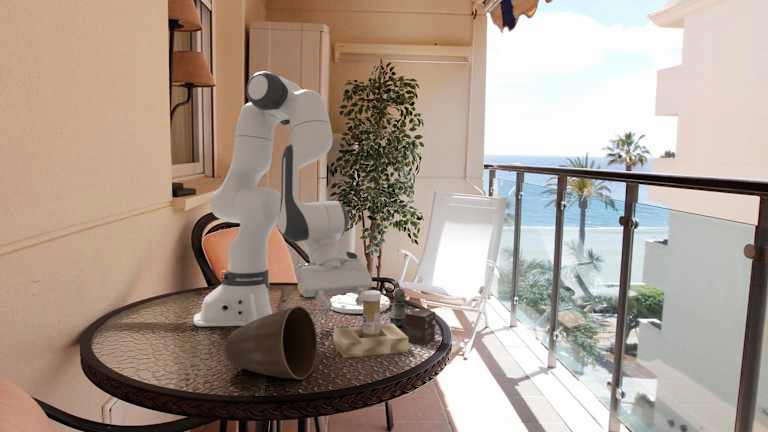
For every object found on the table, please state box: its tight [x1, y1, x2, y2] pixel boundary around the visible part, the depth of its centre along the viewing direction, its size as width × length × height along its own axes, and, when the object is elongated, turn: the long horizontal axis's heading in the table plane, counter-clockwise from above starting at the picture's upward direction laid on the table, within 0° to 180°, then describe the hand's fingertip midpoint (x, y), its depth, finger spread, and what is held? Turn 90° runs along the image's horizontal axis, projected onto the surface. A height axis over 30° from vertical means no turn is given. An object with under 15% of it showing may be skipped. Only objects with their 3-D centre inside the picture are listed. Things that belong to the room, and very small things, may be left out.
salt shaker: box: [388, 285, 406, 332], centre depth 143 cm, size 6×6×12 cm
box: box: [404, 308, 436, 345], centre depth 134 cm, size 6×6×7 cm
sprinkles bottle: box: [362, 289, 382, 338], centre depth 128 cm, size 5×5×13 cm
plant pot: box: [225, 305, 318, 380], centre depth 110 cm, size 15×15×16 cm
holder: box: [333, 323, 409, 359], centre depth 128 cm, size 16×12×4 cm
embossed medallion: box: [329, 292, 390, 314], centre depth 167 cm, size 20×20×3 cm
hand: (345, 305), depth 132 cm, fingers open, 8 cm apart
